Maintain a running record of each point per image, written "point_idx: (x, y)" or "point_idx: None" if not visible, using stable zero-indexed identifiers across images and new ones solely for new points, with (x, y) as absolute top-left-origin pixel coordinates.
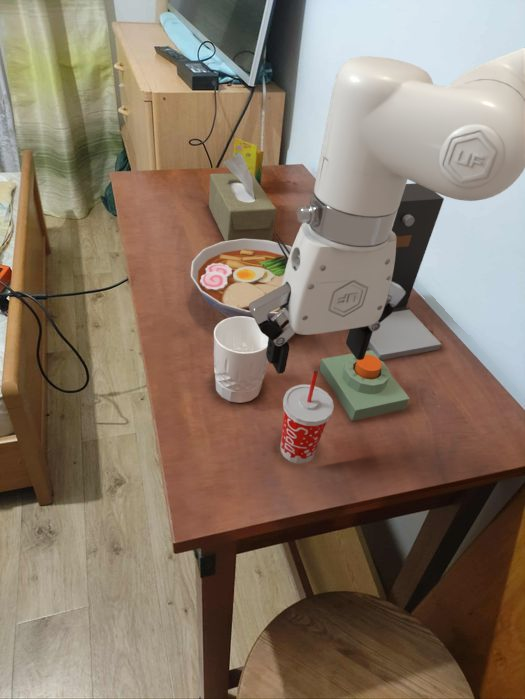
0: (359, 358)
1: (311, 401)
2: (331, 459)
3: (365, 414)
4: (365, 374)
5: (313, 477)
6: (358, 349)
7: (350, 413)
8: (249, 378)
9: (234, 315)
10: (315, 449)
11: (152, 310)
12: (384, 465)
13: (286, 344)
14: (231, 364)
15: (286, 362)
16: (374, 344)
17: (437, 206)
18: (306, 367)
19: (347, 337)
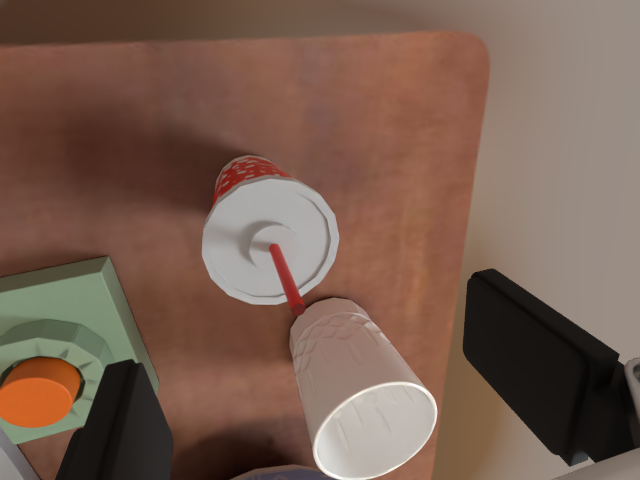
0: (129, 365)
1: (267, 247)
2: (182, 158)
3: (70, 268)
4: (53, 368)
5: (233, 117)
6: (136, 409)
7: (110, 271)
8: (343, 335)
9: (329, 477)
10: (225, 171)
11: (418, 460)
12: (45, 126)
13: (598, 372)
14: (396, 358)
15: (503, 303)
16: (3, 461)
17: None
18: (186, 384)
19: (170, 470)
